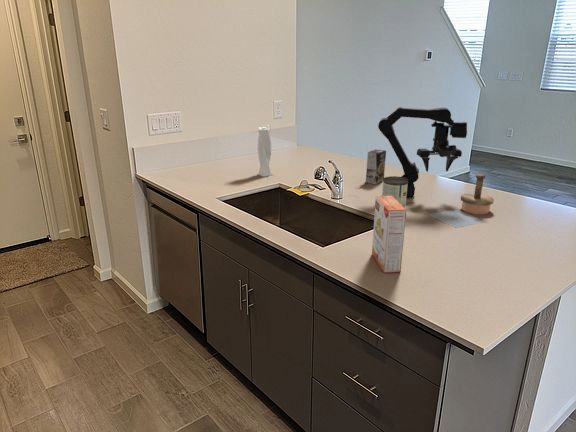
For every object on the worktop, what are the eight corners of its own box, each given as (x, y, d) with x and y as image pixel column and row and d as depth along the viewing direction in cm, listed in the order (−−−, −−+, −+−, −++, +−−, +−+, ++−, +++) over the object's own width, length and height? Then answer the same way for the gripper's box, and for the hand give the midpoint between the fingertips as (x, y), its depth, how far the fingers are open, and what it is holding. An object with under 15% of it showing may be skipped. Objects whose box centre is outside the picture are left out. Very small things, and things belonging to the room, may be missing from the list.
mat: (455, 228, 174) (455, 227, 174) (427, 215, 188) (427, 214, 187) (486, 222, 180) (486, 221, 180) (457, 210, 194) (457, 209, 194)
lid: (480, 207, 184) (484, 181, 180) (454, 198, 194) (457, 173, 190) (499, 202, 190) (504, 176, 186) (473, 194, 201) (477, 169, 197)
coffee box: (376, 184, 231) (378, 153, 225) (365, 182, 234) (367, 151, 229) (384, 180, 237) (386, 150, 232) (373, 178, 241) (375, 148, 235)
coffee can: (382, 206, 199) (384, 175, 194) (406, 208, 196) (409, 177, 191) (378, 213, 190) (381, 181, 185) (403, 216, 186) (407, 183, 182)
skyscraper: (275, 176, 246) (275, 124, 236) (263, 178, 242) (262, 125, 232) (267, 172, 252) (266, 122, 243) (255, 175, 248) (253, 123, 238)
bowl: (468, 215, 188) (470, 205, 187) (457, 206, 198) (458, 196, 197) (494, 214, 189) (495, 204, 187) (481, 206, 199) (483, 196, 198)
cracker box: (370, 254, 152) (374, 195, 145) (388, 253, 152) (393, 194, 145) (382, 273, 139) (387, 209, 131) (401, 273, 139) (407, 209, 132)
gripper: (427, 140, 191) (423, 176, 196) (469, 140, 192) (464, 175, 198) (418, 136, 201) (414, 169, 207) (458, 135, 203) (453, 169, 208)
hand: (436, 171), depth 205 cm, fingers open, 9 cm apart
